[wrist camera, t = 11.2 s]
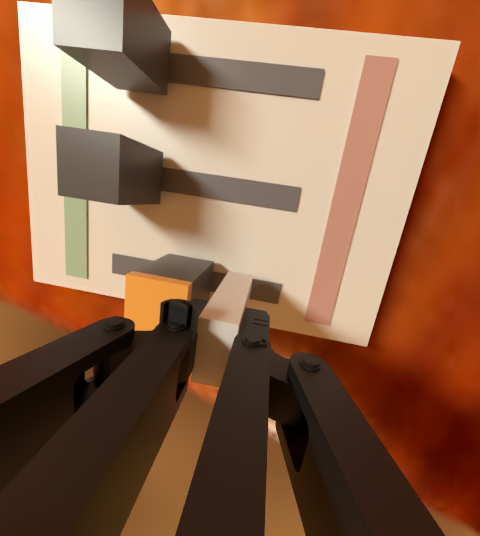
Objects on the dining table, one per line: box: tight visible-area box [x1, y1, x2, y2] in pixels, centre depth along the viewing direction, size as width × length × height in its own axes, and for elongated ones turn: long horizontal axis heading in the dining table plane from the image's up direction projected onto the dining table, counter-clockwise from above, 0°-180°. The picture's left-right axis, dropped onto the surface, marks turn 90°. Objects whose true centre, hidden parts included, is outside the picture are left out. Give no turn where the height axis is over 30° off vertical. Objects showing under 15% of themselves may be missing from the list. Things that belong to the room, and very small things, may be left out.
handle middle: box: [56, 125, 163, 205], centre depth 14 cm, size 3×3×4 cm
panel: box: [17, 1, 461, 347], centre depth 17 cm, size 24×17×2 cm
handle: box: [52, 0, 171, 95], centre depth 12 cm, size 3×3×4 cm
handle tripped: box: [124, 254, 214, 331], centre depth 15 cm, size 3×3×5 cm
